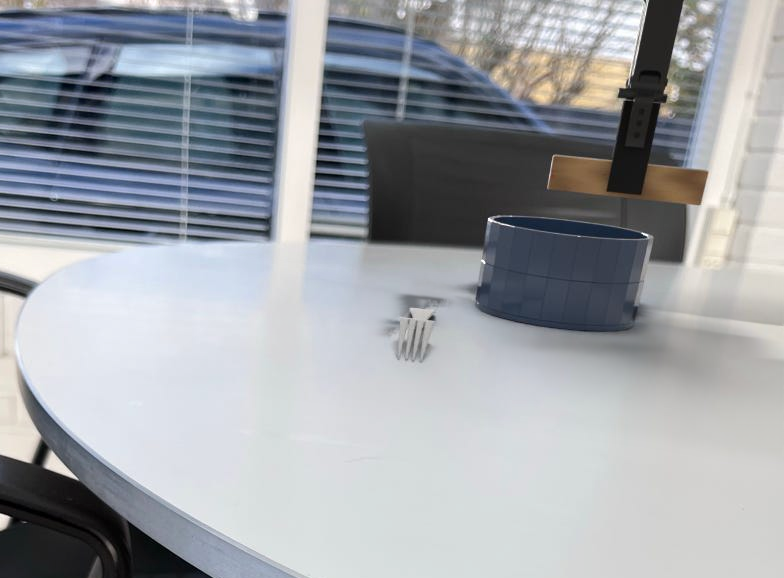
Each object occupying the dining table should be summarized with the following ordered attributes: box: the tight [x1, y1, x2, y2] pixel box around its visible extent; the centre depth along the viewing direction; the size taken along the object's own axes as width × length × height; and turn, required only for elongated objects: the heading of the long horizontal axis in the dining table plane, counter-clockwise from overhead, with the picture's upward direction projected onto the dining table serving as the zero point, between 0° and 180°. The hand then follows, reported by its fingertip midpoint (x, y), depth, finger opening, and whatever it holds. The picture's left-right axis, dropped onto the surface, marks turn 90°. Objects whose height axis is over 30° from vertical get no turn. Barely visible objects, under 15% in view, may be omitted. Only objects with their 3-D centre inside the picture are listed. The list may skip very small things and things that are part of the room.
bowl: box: [474, 215, 655, 332], centre depth 102 cm, size 15×15×8 cm
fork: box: [397, 307, 437, 363], centre depth 89 cm, size 3×21×3 cm, turn 171°
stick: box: [547, 154, 709, 206], centre depth 85 cm, size 12×2×2 cm, turn 76°
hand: (623, 191), depth 85 cm, fingers closed on stick, 2 cm apart
